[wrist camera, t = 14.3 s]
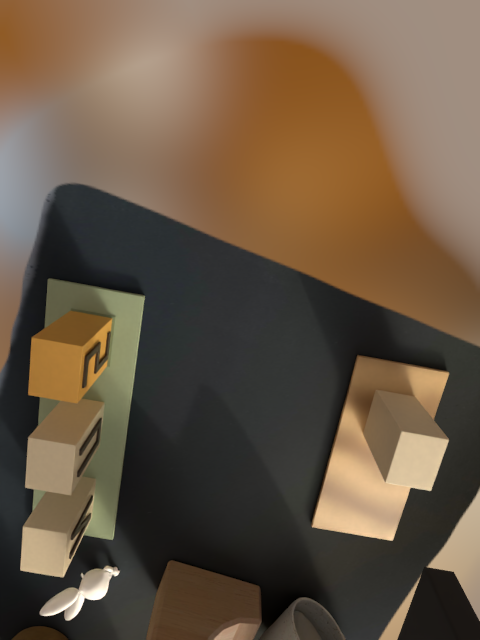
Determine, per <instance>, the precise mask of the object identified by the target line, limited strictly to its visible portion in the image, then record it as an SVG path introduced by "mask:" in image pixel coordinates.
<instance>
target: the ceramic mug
mask: <svg viewBox="0 0 480 640" xmlns="http://www.w3.org/2000/svg"><path fill="white" fill-rule="evenodd" d="M259 640H346V639H345V637H344V635H343V634H342V632H341V630H340V629H339V626H338V625H337V623H336V622H335V620H334V619H333V617H332V616H331V615H330V613H329V612H328V611H327V610H326V609H325V608H324V607H323V606H322V605H320V604H319V603H317V602H316V601H314V600H312V599H310V598H306V597H302V598H298V599H296V600H295V601H294V602H293V603H292V604H291V605H290V606H289V607H288V608H287V609H286V610H285V611H284V612H283V613H282V614H281V615H280V616H279V618H278V619H277V620H276V621H275V622H274V623H273V624H272V625H271V626H270V627H269V628H268V629H267V630H266V631H265V632H264V633H263V634H262V636H261V637H260V639H259Z"/></svg>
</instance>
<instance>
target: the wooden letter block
mask: <svg viewBox="0 0 480 640" xmlns="http://www.w3.org/2000/svg"><path fill="white" fill-rule="evenodd" d="M95 485H96V479H94V478H88V477H81V479H80V481H79V482H78V484H77V486H76V488H75V489H74V491H73V493H72V495H65V494H59V493H53V492H47V491H46V492H45V494H44V495H43V497H42V498H41V500H40V501H39V503H38V504H37V506H36V507H35V509H34V510H33V512H32V513H31V515H30V516H29V518H28V519H27V521H26V522H25V524H24V525H23V533H22V550H21V566H20V570H21V571H26V572H33V573H39V574H45V575H51V576H57V577H64V575H65V573H66V571H67V569H68V567H69V564H70V562H71V560H72V558H73V556H74V554H75V552H76V550H77V548H78V546H79V544H80V541H81V539H82V537H83V535H84V533H85V531H86V529H87V527H88V525H89V523H90V521H91V518H92V512H93V503H94V494H95Z"/></svg>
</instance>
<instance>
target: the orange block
mask: <svg viewBox="0 0 480 640" xmlns="http://www.w3.org/2000/svg"><path fill="white" fill-rule="evenodd" d="M111 325H112V318H108V317H103V316H97V315H92V314H86V313H81V312H75V311H69V312H68V313H66V314H65V315H63V316H62V317H60V318H59V319H58V320H56V321H55V322H53V323H52V324H50V325H49V326H47V327H46V328H45V329H43V330H42V331H40V332H39V333H37V334H36V335H34V336H33V337H32V341H31V357H30V374H29V391H28V395H31V396H37V397H42V398H48V399H54V400H59V401H65V402H71V403H76V404H77V403H78V402H79V401H80V400H81V398H82V397H83V396H84V395H85V393H86V392H87V391H88V390H89V388H90V387H91V386H92V385H93V383H94V382H95V381H96V380H97V378H98V377H99V376H100V375H101V373H102V372H103V371H104V369H105V368H106V367H107V361H108V355H109V346H110V337H111Z"/></svg>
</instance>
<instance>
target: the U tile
mask: <svg viewBox="0 0 480 640" xmlns="http://www.w3.org/2000/svg"><path fill="white" fill-rule="evenodd" d="M104 405H105V403H104V402H99V401H94V400H88V399H82V398H81V400H80V401H79V402H78V403H77V404H76V403H71V402H65V401H60V402H59V403H58V404H57V405H56V407H55V408H54V409H53V410H52V411H51V412H50V413H49V414H48V416H47V417H46V418H45V419H44V420H43V421H42V422H41V423H40V425H39V426H38V427H37V428H36V429H35V430H34V431H33V433H32V434H31V435H30V436H29V437H28V449H27V465H26V482H25V488H30V489H36V490H42V491H47V492H53V493H59V494H65V495H72V493H73V491H74V489H75V488H76V486H77V484H78V482H79V481H80V479H81V477H82V476H83V474H84V472H85V470H86V469H87V467H88V465H89V464H90V462H91V460H92V458H93V457H94V455H95V453H96V451H97V450H98V448H99V446H100V441H101V432H102V423H103V414H104Z"/></svg>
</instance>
